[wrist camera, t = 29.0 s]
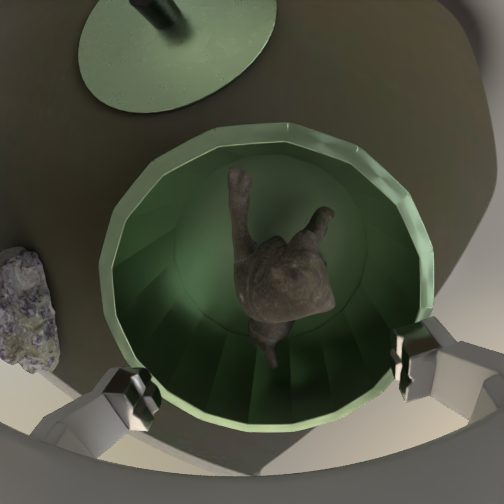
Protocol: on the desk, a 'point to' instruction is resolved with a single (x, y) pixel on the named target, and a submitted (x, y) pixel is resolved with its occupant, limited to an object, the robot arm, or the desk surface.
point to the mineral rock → (26, 313)
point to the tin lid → (170, 49)
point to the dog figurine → (276, 271)
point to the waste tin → (222, 276)
